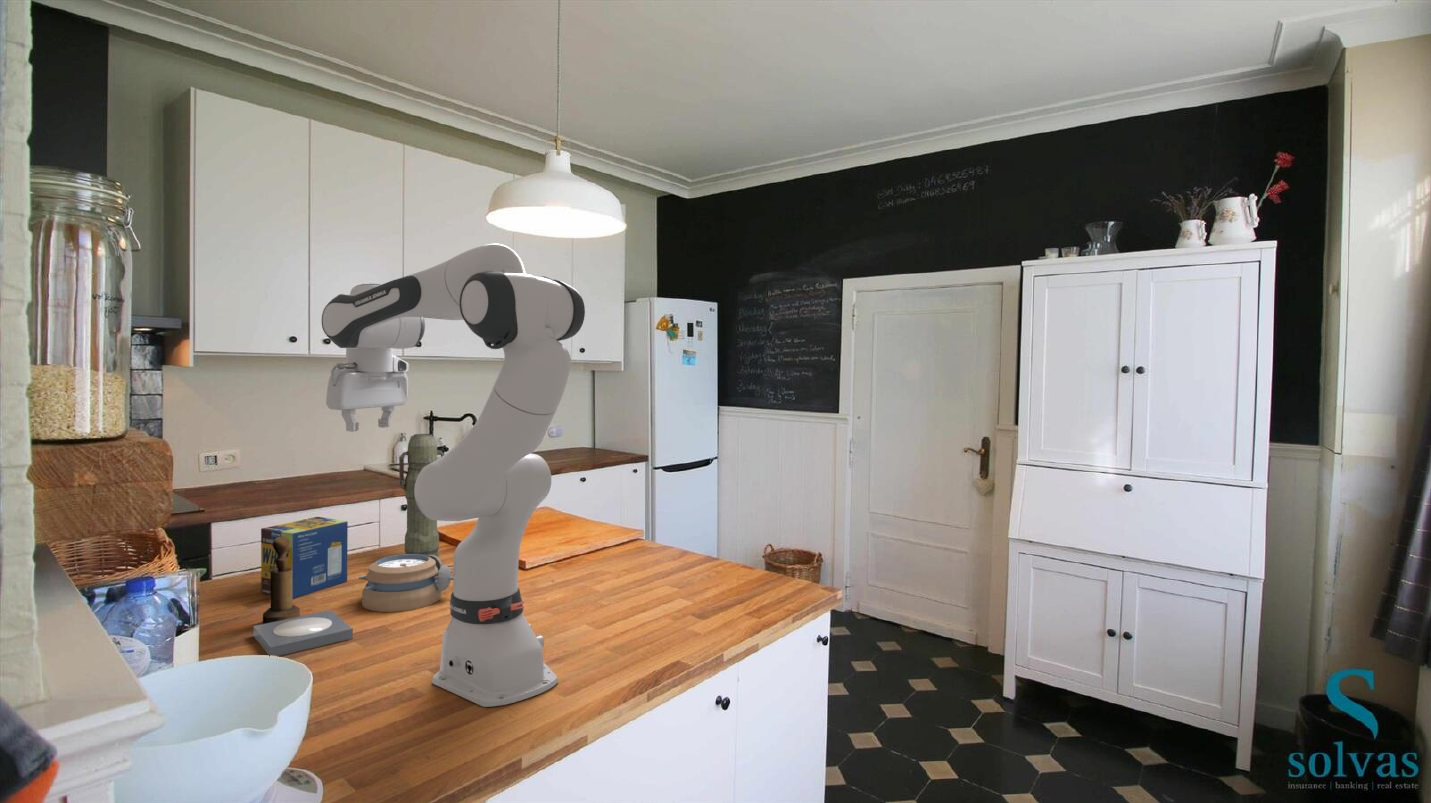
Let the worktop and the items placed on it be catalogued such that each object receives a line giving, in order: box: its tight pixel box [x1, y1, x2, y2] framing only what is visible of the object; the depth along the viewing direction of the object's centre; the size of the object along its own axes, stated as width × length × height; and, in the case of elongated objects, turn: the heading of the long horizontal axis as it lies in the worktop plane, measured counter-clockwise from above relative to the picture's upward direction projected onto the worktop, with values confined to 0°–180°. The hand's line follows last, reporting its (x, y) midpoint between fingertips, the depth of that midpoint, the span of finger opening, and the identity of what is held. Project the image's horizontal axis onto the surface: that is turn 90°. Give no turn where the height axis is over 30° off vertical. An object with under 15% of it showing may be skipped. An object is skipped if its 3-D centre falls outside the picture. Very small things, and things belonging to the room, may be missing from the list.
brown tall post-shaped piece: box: [262, 537, 301, 624], centre depth 145 cm, size 7×6×18 cm
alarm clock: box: [358, 553, 454, 613], centre depth 163 cm, size 17×9×23 cm
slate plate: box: [252, 609, 354, 657], centre depth 137 cm, size 14×14×2 cm
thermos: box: [398, 433, 446, 558], centre depth 194 cm, size 9×12×35 cm
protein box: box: [260, 516, 349, 600], centre depth 167 cm, size 10×15×16 cm
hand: (368, 429), depth 145 cm, fingers open, 8 cm apart
